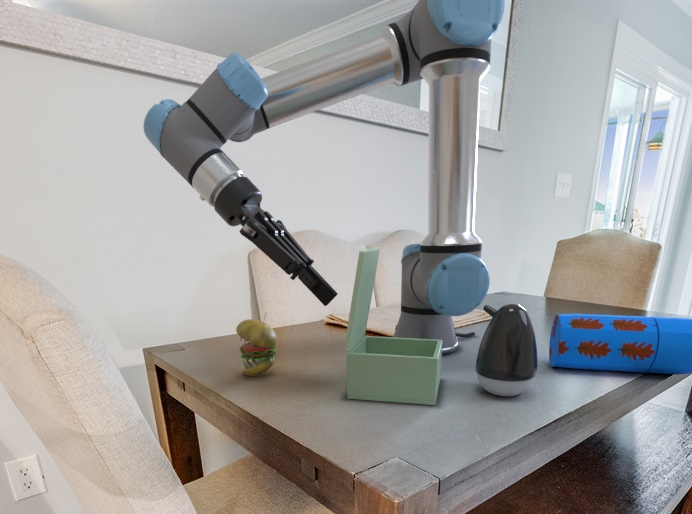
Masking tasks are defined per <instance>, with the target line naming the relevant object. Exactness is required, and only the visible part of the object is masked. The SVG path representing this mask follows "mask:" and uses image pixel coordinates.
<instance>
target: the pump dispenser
mask: <svg viewBox="0 0 692 514" xmlns="http://www.w3.org/2000/svg"><path fill="white" fill-rule="evenodd" d="M482 309H483V311H484V312H485V313H486V314H488V315H489V316H490V317H491V319H490V321H489V323H488V324H487V326H486V329H485V330H484V333H483V336H482V338H481V340H480V344H479V347H478V351H477V355H476V359H475V364H474V365H475V367H474V371H475V373H476V376H477V380H478V382H479V385H481V387H482V388H483V390H485V391H486V392H487V393H489V394H491V395H495V396H499V397H515V396H517V395H521V394H522V393H524V392H525V391H527V390H528V389H529V387H531V385H532V384H533V381H534V379H535V378H536V377H537V373H538V347H537V346H538V345H537V340H536V334H535V330H534V325H533V323H532V320H531V317H530V315H529V313H528V311H527V310H526V309H525V308H524V307H523V306H521V305H520V304H518V303H507V304H504V305H502V306H501V307H499V308H498V309H496V308H494V307H492V306H490V305H488V304H485V305H484V306H483V308H482Z"/></svg>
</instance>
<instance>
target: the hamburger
mask: <svg viewBox="0 0 692 514" xmlns="http://www.w3.org/2000/svg"><path fill="white" fill-rule="evenodd" d="M267 313H268V312H267V311H266V312H265V314H264V315H263V321H261V320H258V319H248V318H247V319H244V320H242V321H240V322H239V323H238V324H237V326H236V328H235V331H236V334H237V335H238V336H239V339H240V340H239V341H240V342H241V341H242V339H243V343H242V344H241V346H239V351H240V353H241V355H240V358H242V363H243V367H242V368H241V370H240V371H241V373H242V375H244V376H246V377H254V376H258V375H261V374H263V373H265V372H267V371H268V370H270V369H271V368H272V367H273V366H274V364H275V362H276V357H277V355H278V353H277V352H276V351H277V346H276V345H277V341H278V338H277V336H278V335H277V334H276V332H275V330H274V328H272V327H271V326H270V325H268V324H267V323H265V320H266V316H267ZM250 359H251V362H250Z"/></svg>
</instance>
